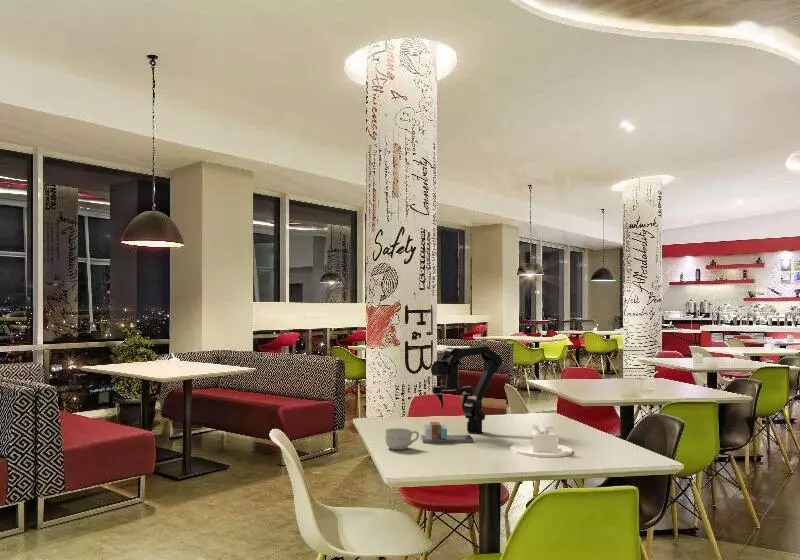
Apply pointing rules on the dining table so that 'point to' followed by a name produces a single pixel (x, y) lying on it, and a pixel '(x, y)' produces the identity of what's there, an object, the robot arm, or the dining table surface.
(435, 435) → the brown rectangular block
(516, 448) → the dish
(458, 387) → the robot arm
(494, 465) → the dining table surface
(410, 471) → the dining table surface
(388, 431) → the teacup
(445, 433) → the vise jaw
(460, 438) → the vise base
